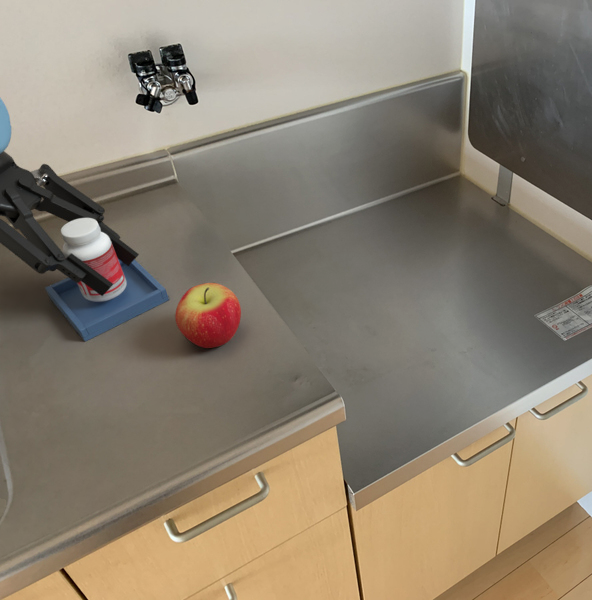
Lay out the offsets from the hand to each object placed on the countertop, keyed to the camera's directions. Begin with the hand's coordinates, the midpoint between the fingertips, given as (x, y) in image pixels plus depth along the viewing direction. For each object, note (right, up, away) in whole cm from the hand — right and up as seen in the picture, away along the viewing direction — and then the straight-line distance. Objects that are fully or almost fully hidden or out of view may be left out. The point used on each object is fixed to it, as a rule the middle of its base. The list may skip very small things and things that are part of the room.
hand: (120, 274), depth 87 cm
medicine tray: (-4, -3, +4) cm, 6 cm away
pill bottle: (-4, -2, +3) cm, 5 cm away
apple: (+14, -9, -2) cm, 17 cm away
